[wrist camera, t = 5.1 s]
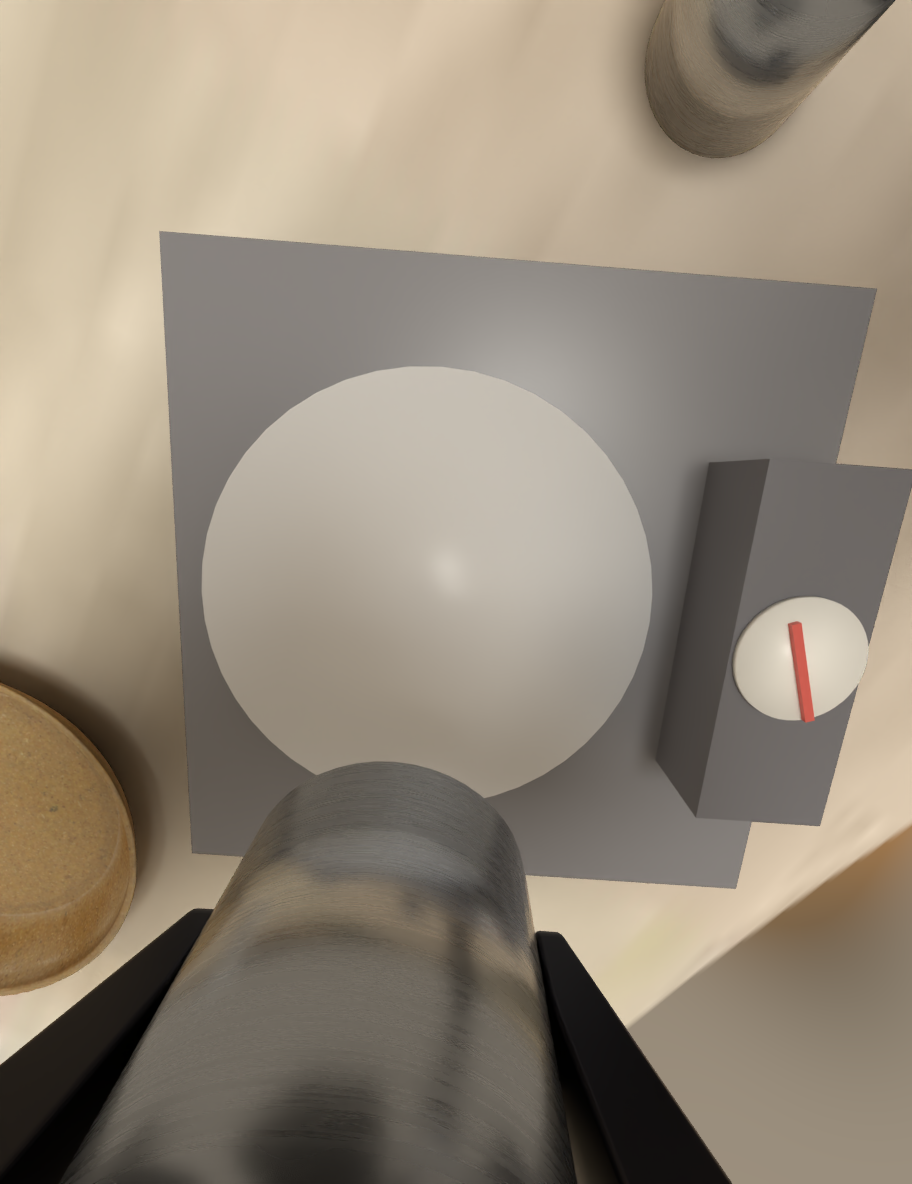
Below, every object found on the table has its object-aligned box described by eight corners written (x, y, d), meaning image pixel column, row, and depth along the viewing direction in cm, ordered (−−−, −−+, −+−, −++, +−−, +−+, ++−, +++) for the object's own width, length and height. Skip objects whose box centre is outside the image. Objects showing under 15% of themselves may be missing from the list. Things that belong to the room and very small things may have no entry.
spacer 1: (510, 1002, 10) (565, 1552, 5) (250, 986, 10) (29, 1526, 5) (539, 771, 9) (652, 1175, 4) (245, 751, 8) (-51, 1132, 4)
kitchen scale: (804, 321, 17) (1005, 230, 11) (697, 832, 21) (795, 977, 15) (212, 274, 17) (65, 153, 10) (229, 801, 21) (133, 935, 15)
